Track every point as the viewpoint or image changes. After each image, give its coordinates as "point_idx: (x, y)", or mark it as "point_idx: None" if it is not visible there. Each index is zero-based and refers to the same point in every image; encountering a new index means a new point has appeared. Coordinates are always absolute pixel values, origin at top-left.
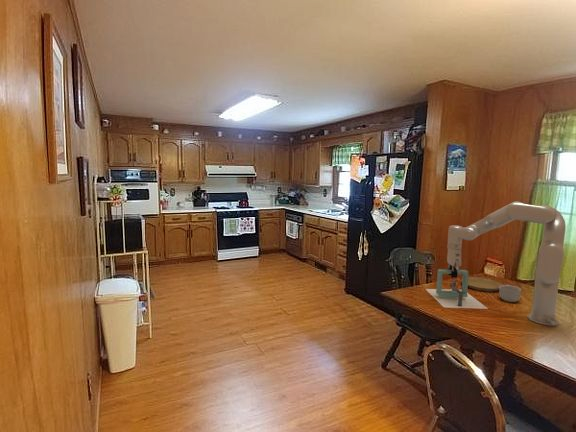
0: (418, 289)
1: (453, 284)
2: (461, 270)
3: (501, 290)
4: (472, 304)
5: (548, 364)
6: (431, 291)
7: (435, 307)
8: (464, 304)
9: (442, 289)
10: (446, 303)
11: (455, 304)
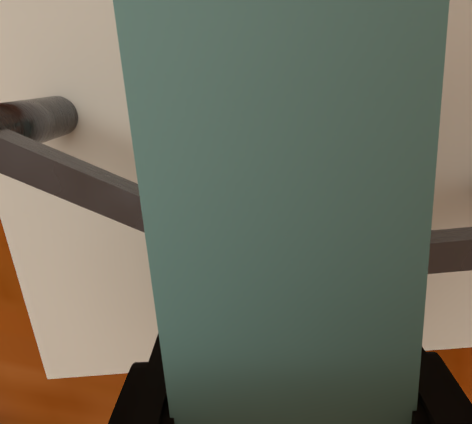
0: (27, 406)
1: None
2: (232, 202)
3: None
4: (454, 25)
5: None
6: (110, 342)
7: (463, 374)
8: (456, 122)
9: (5, 218)
10: (436, 293)
11: (459, 217)
